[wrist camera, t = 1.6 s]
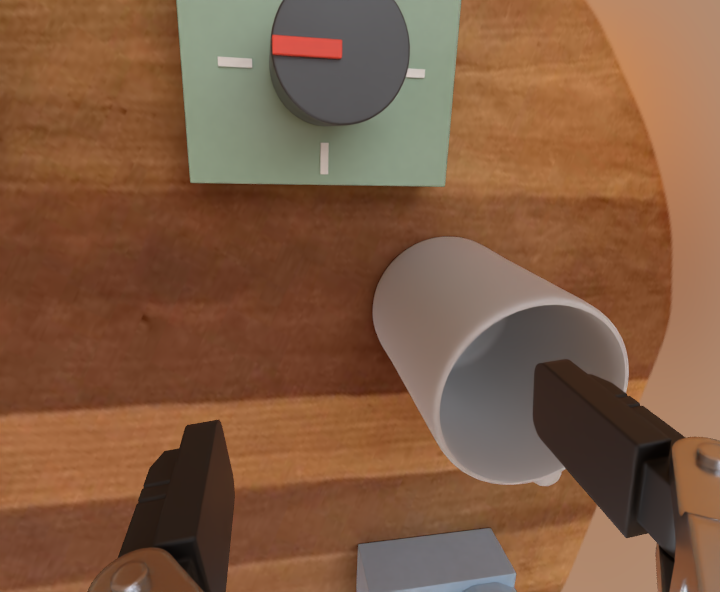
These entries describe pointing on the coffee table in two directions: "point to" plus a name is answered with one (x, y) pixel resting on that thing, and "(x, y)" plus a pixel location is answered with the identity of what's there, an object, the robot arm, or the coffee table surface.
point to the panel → (294, 136)
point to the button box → (436, 564)
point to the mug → (486, 352)
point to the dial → (338, 58)
